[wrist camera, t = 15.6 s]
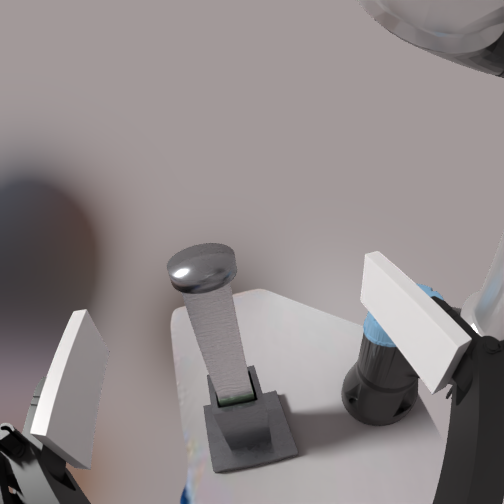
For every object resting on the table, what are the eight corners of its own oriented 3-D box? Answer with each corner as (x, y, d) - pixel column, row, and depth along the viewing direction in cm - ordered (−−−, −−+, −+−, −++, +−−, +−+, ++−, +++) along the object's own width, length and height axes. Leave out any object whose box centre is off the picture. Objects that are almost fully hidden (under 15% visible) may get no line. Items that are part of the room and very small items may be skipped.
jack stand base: (205, 409, 48) (181, 358, 41) (276, 394, 50) (270, 340, 42) (215, 473, 36) (187, 437, 28) (298, 455, 38) (299, 414, 30)
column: (218, 401, 41) (168, 250, 28) (257, 392, 42) (229, 238, 29) (224, 433, 36) (165, 284, 23) (266, 424, 37) (240, 269, 24)
